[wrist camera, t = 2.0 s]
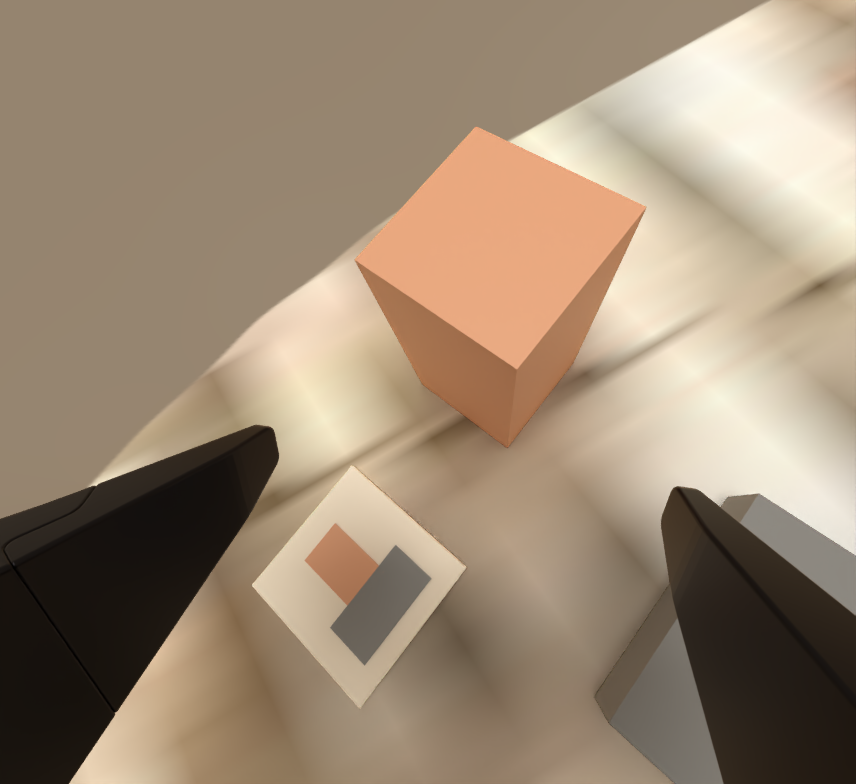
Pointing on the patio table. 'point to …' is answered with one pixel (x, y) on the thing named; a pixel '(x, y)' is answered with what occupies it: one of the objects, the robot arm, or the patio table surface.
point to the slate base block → (668, 660)
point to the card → (358, 583)
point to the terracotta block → (498, 276)
